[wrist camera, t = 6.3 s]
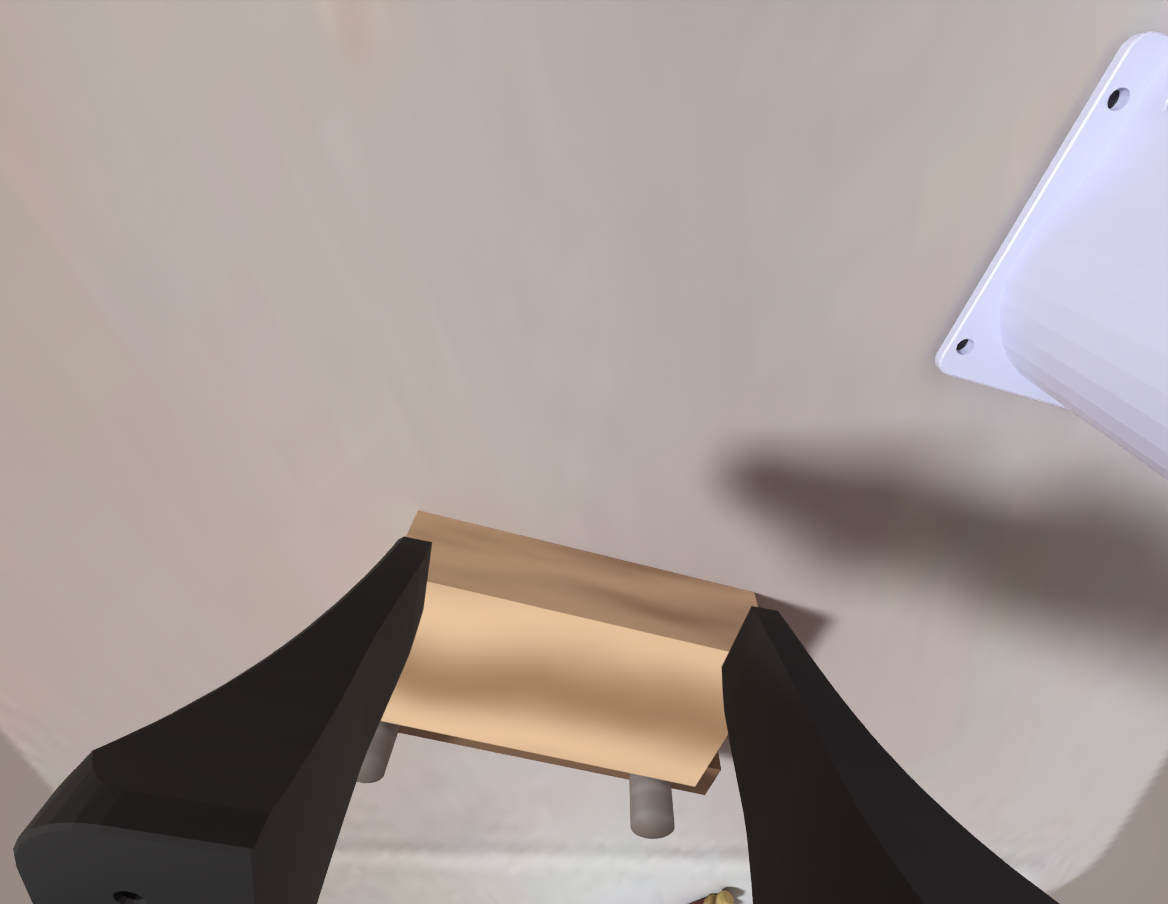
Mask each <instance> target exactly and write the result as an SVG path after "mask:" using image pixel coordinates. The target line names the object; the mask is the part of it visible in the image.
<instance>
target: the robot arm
mask: <svg viewBox="0 0 1168 904" xmlns="http://www.w3.org/2000/svg"><path fill="white" fill-rule="evenodd" d="M1115 90H1119V99H1118V101H1117V103H1116V104H1115V105H1114V106H1113V107H1112V108H1110V109H1109V108H1108V105H1107V102H1108V99H1109V96H1110V95H1111V94H1112V93H1113V92H1114V91H1115ZM964 339H968V343H967V345H966V346H965V347H964V348H962V349H960V350H956V347H957V344H958V343H959V342H960V341H962V340H964ZM935 364H936V366H937V368H938V369H939V370H940V371H942V372H943V373H945V374H947V375H950V376H954V377H957V378H961V379H964V380H968V381H971V382H975V383H978V384H982V385H985V386H988V387H992V388H995V389H999V390H1002V391H1006V392H1009V393H1013V394H1016V395H1020V396H1023V397H1027V398H1030V399H1034V400H1037V401H1041V402H1044V403H1048V404H1051V405H1055V406H1058V407H1062V408H1065V409H1069V410H1070V411H1072V412H1073V413H1075V414H1076V415H1077V416H1079V417H1080V418H1082V419H1083V420H1084V421H1086V422H1087V423H1089V424H1090V425H1091V426H1093V427H1094V428H1096V429H1097V430H1098V431H1100V432H1101V433H1103V434H1104V435H1105V436H1107V437H1108V438H1110V439H1111V440H1112V441H1114V442H1115V443H1117V444H1118V445H1119V446H1121V447H1122V448H1123V449H1125V450H1126V451H1128V452H1129V453H1130V454H1132V455H1133V456H1135V457H1136V458H1137V459H1139V460H1140V461H1142V462H1143V463H1144V464H1146V465H1147V466H1149V467H1150V468H1151V469H1153V470H1154V471H1156V472H1157V473H1158V474H1160V475H1161V476H1163V477H1164V478H1165V479H1167V480H1168V35H1166V34H1163V33H1160V32H1153V31H1149V32H1141V33H1138V34H1136V35H1133V36H1132V37H1130V38H1129V39H1128V40H1126V41H1125V42H1124V44H1123V45H1122V46H1121V47H1120V49H1119V50H1118V52H1117V53H1116V55H1115V57H1114V58H1113V60H1112V62H1111V63H1110V65H1109V67H1108V68H1107V70H1106V72H1105V73H1104V75H1103V77H1102V78H1101V80H1100V82H1099V83H1098V85H1097V87H1096V88H1095V90H1094V92H1093V93H1092V95H1091V97H1090V98H1089V100H1088V102H1087V104H1086V105H1085V107H1084V109H1083V110H1082V112H1081V114H1080V115H1079V117H1078V119H1077V120H1076V122H1075V124H1074V125H1073V127H1072V129H1071V130H1070V132H1069V134H1068V135H1067V137H1066V139H1065V140H1064V142H1063V144H1062V145H1061V147H1060V149H1059V150H1058V152H1057V154H1056V155H1055V157H1054V159H1053V160H1052V162H1051V164H1050V165H1049V167H1048V169H1047V170H1046V172H1045V174H1044V175H1043V177H1042V179H1041V180H1040V182H1039V184H1038V185H1037V187H1036V189H1035V190H1034V192H1033V194H1032V195H1031V197H1030V199H1029V200H1028V202H1027V204H1026V205H1025V207H1024V209H1023V210H1022V212H1021V214H1020V215H1019V217H1018V219H1017V220H1016V222H1015V224H1014V225H1013V227H1012V229H1011V230H1010V232H1009V234H1008V235H1007V237H1006V239H1005V240H1004V242H1003V244H1002V245H1001V247H1000V249H999V250H998V252H997V254H996V255H995V257H994V259H993V260H992V262H991V264H990V265H989V267H988V269H987V270H986V272H985V274H984V275H983V277H982V279H981V280H980V282H979V284H978V285H977V287H976V289H975V290H974V292H973V294H972V295H971V297H970V299H969V300H968V302H967V304H966V306H965V307H964V309H963V311H962V312H961V314H960V316H959V317H958V319H957V321H956V322H955V324H954V326H953V327H952V329H951V331H950V332H949V334H948V336H947V337H946V339H945V341H944V342H943V344H942V346H941V347H940V349H939V351H938V352H937V354H936V357H935ZM431 548H432V542H429V541H424V540H419V539H414V538H409V537H402V538H400V539H399V540H398V541H397V542H396V543H395V544H394V546H393V547H392V548H391V549H390V550H389V551H388V552H387V554H386V555H385V556H384V557H383V558H382V559H381V560H380V561H379V562H378V563H377V564H376V565H375V566H374V567H373V568H372V570H371V571H370V572H369V573H368V574H367V575H366V576H365V577H364V578H363V579H361V580H360V581H359V582H358V583H357V584H356V585H355V586H354V587H353V588H352V589H351V590H350V591H349V592H348V593H347V594H346V595H345V596H344V597H342V598H341V599H340V600H339V601H338V602H337V603H336V604H335V605H333V606H332V607H331V608H330V609H329V610H327V611H326V612H325V613H324V614H323V615H321V616H320V617H319V618H318V619H317V620H316V621H314V622H313V623H312V624H311V625H310V626H308V627H307V628H306V629H305V630H303V631H302V632H301V633H299V634H298V635H297V636H295V637H294V638H293V639H291V640H290V641H289V642H287V643H286V644H285V645H283V646H282V647H280V648H279V649H278V650H276V651H275V652H273V653H272V654H271V655H269V656H268V657H266V658H265V659H263V660H262V661H260V662H259V663H257V664H256V665H254V666H253V667H251V668H249V669H248V670H246V671H245V672H243V673H242V674H240V675H239V676H237V677H236V678H234V679H232V680H231V681H229V682H227V683H226V684H224V685H222V686H221V687H219V688H217V689H216V690H214V691H212V692H210V693H208V694H206V695H205V696H203V697H201V698H199V699H197V700H196V701H194V702H192V703H190V704H188V705H186V706H185V707H183V708H181V709H179V710H177V711H175V712H174V713H172V714H170V715H168V716H166V717H164V718H162V719H160V720H158V721H156V722H154V723H152V724H150V725H148V726H145V727H143V728H141V729H139V730H137V731H135V732H133V733H130V734H128V735H126V736H124V737H122V738H120V739H118V740H115V741H113V742H111V743H109V744H107V745H104V746H102V747H100V748H97V749H95V750H93V751H92V752H91V753H90V754H89V755H88V756H87V757H86V758H85V759H84V760H83V761H82V762H81V764H80V765H79V766H78V767H77V768H76V769H75V770H74V771H73V772H72V773H71V774H70V775H69V776H68V777H67V778H66V779H65V780H64V781H63V782H62V784H61V785H60V786H59V787H58V788H57V789H56V790H55V792H54V793H53V794H52V795H51V797H50V798H49V799H48V801H47V802H46V803H45V804H44V806H43V807H42V808H41V810H40V811H39V812H38V814H37V815H36V816H35V817H34V818H33V820H32V821H31V822H30V824H29V825H28V826H27V827H26V829H25V830H24V831H23V832H22V834H21V835H20V836H19V837H18V839H17V842H16V844H15V846H14V848H13V850H14V856H15V860H16V866H17V869H18V871H19V874H20V876H21V878H22V880H23V882H24V885H25V887H26V889H27V891H28V893H29V896H30V898H31V900H32V902H33V904H317V902H318V899H319V895H320V892H321V889H322V886H323V883H324V879H325V876H326V873H327V870H328V867H329V864H330V861H331V857H332V854H333V851H334V848H335V845H336V842H337V839H338V836H339V833H340V830H341V827H342V823H343V820H344V817H345V814H346V811H347V808H348V805H349V802H350V799H351V796H352V793H353V790H354V787H355V784H356V781H357V778H358V775H359V772H360V769H361V767H362V764H363V761H364V759H365V756H366V754H367V751H368V749H369V746H370V744H371V742H372V739H373V737H374V735H375V732H376V730H377V728H378V726H379V723H380V721H381V719H382V716H383V714H384V712H385V710H386V707H387V705H388V703H389V701H390V698H391V696H392V694H393V691H394V689H395V687H396V685H397V682H398V680H399V678H400V675H401V673H402V671H403V668H404V666H405V664H406V661H407V659H408V657H409V654H410V652H411V649H412V645H413V642H414V639H415V636H416V633H417V629H418V626H419V623H420V620H421V616H422V613H423V609H424V602H425V594H426V586H427V579H428V571H429V563H430V556H431ZM721 669H722V690H723V704H724V714H725V719H726V725H727V730H728V735H729V741H730V746H731V751H732V756H733V761H734V766H735V772H736V777H737V782H738V787H739V792H740V797H741V802H742V807H743V812H744V819H745V825H746V832H747V841H748V851H749V862H750V872H751V883H752V896H753V904H1059V903H1058V902H1056V901H1055V900H1054V899H1052V898H1051V897H1050V896H1049V895H1047V894H1046V893H1045V892H1043V891H1042V890H1041V889H1039V888H1038V887H1037V886H1035V885H1034V884H1033V883H1031V882H1030V881H1029V880H1027V879H1026V878H1025V877H1023V876H1022V875H1021V874H1019V873H1018V872H1017V871H1015V870H1014V869H1013V868H1012V867H1010V866H1009V865H1008V864H1007V863H1005V862H1004V861H1003V860H1002V859H1001V858H999V857H998V856H997V855H996V854H995V853H993V852H992V851H991V850H990V849H989V848H987V847H986V846H985V845H984V844H983V843H981V842H980V841H979V840H978V839H977V838H975V837H974V836H973V835H972V834H971V833H970V832H968V831H967V830H966V829H965V828H964V827H963V826H962V825H961V824H959V823H958V822H957V821H956V820H955V819H954V818H953V817H952V816H951V815H949V814H948V813H947V812H946V811H945V810H944V809H943V808H942V807H941V806H940V805H939V804H938V803H937V802H936V801H935V800H934V799H932V798H931V797H930V796H929V795H928V794H927V793H926V792H925V791H924V790H923V789H922V788H921V787H920V786H919V785H918V784H917V783H916V782H915V781H914V780H913V779H912V778H911V777H910V776H909V775H908V774H907V773H906V772H905V771H904V770H903V769H902V768H901V767H900V765H899V764H898V763H897V762H896V761H895V760H894V759H893V758H892V757H891V756H890V755H889V754H888V753H887V752H886V751H885V749H884V748H883V747H882V746H881V745H880V744H879V743H878V742H877V740H876V739H875V738H874V737H873V736H872V735H871V734H870V732H869V731H868V730H867V729H866V728H865V726H864V725H863V724H862V723H861V722H860V720H859V719H858V718H857V717H856V716H855V714H854V713H853V712H852V711H851V709H850V708H849V707H848V706H847V704H846V703H845V702H844V701H843V699H842V698H841V697H840V695H839V694H838V693H837V692H836V690H835V689H834V688H833V686H832V685H831V684H830V682H829V681H828V680H827V678H826V677H825V676H824V674H823V673H822V672H821V670H820V669H819V667H818V666H817V665H816V663H815V662H814V661H813V659H812V658H811V656H810V655H809V654H808V652H807V651H806V649H805V648H804V647H803V645H802V644H801V642H800V641H799V640H798V638H797V637H796V635H795V634H794V633H793V631H792V630H791V628H790V627H789V626H788V624H787V623H786V621H785V620H784V619H783V617H782V616H781V615H780V613H779V612H778V611H775V610H770V609H765V608H760V607H755V606H751V608H750V610H749V612H748V614H747V616H746V618H745V620H744V622H743V624H742V626H741V628H740V630H739V632H738V634H737V637H736V639H735V641H734V643H733V645H732V647H731V649H730V651H729V653H728V655H727V657H726V659H725V661H724V663H723V665H722V667H721Z"/></svg>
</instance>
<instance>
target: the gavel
mask: <svg viewBox="0 0 1168 904" xmlns="http://www.w3.org/2000/svg"><path fill="white" fill-rule="evenodd" d="M689 904H734V898H733V896H732V894H731V893H730V892H729V891H725V890H723V891H721V892H719V893H718V895H715V894H711V895H709V896H708V897H706V898H702V899H700V900H697V901H694V902H691V903H689Z"/></svg>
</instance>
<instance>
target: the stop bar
mask: <svg viewBox="0 0 1168 904" xmlns="http://www.w3.org/2000/svg"><path fill="white" fill-rule="evenodd" d="M398 733H403V734H408V735H413V736H418V737H423V738H428V739H432V740H437V741H442V742H447V743H452V744H457V745H462V746H467V747H472V748H477V749H482V750H486V751H491V752H496V753H501V754H506V755H511V756H516V757H521V758H526V759H531V760H536V761H540V762H545V763H550V764H555V765H560V766H565V767H570V768H575V769H580V770H585V771H589V772H594V773H599V774H604V775H609V776H614V777H619V778H624V779H629V780H630V822H631V830H632V831H633V832H634V833H635V834H636V835H638V836H640V837H643V838H649V839H657V838H662V837H665V836H667V835H669V834H671V833H672V832H673V830H674V815H673V803H672V791H671V788H673V789H678V790H683V791H688V792H693V793H697V794H702V795H705V794H706V792H707V791H708V789H709V788H710V786H711V785H712V783H713V782H714V780H715V779H716V777H717V775H718V774H719V772H720V771H721V766H720V760H719V753H718V751H717V753H716V754H715V756H714V757H713V759H712V761H711V762H710V764H709V765H708V767H707V769H706V770H705V772H704V773H703V775H702V776H701V778H700V780H699V781H698V783H697V784H696V786H695V787H694V786H689V785H685V784H680V783H675V782H670V781H665V780H661V779H656V778H651V777H646V776H642V775H637V774H632V773H627V772H622V771H618V770H613V769H608V768H603V767H599V766H594V765H589V764H584V763H579V762H575V761H570V760H565V759H560V758H556V757H551V756H546V755H541V754H536V753H532V752H527V751H522V750H517V749H513V748H508V747H503V746H498V745H493V744H489V743H484V742H479V741H474V740H470V739H465V738H460V737H455V736H450V735H446V734H441V733H436V732H431V731H427V730H422V729H417V728H412V727H408V726H403V725H398V724H393V723H388V722H384V721H380V723H379V726H378V728H377V730H376V732H375V735H374V737H373V739H372V742H371V744H370V746H369V749H368V751H367V754H366V756H365V759H364V761H363V764H362V767H361V769H360V772H359V775H358V778H357V781H356V782H361V783H373V782H376V781H379V780H380V779H382V777H383V776H384V773H385V770H386V767H387V764H388V761H389V758H390V755H391V752H392V749H393V746H394V743H395V740H396V737H397V734H398Z"/></svg>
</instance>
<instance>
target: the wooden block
mask: <svg viewBox="0 0 1168 904" xmlns="http://www.w3.org/2000/svg"><path fill="white" fill-rule="evenodd" d="M406 537H409V538H414V539H419V540H424V541H429V542H432V548H431V556H430V563H429V571H428V579H427V586H426V594H425V602H424V609H423V613H422V616H421V620H420V623H419V626H418V629H417V633H416V636H415V639H414V642H413V645H412V649H411V652H410V654H409V657H408V659H407V661H406V664H405V666H404V668H403V671H402V673H401V675H400V678H399V680H398V682H397V685H396V687H395V689H394V691H393V694H392V696H391V698H390V701H389V703H388V705H387V707H386V710H385V712H384V714H383V716H382V719H381V721H384V722H388V723H393V724H398V725H403V726H408V727H412V728H417V729H422V730H427V731H431V732H436V733H441V734H446V735H450V736H455V737H460V738H465V739H470V740H474V741H479V742H484V743H489V744H493V745H498V746H503V747H508V748H513V749H517V750H522V751H527V752H532V753H536V754H541V755H546V756H551V757H556V758H560V759H565V760H570V761H575V762H579V763H584V764H589V765H594V766H599V767H603V768H608V769H613V770H618V771H622V772H627V773H632V774H637V775H642V776H646V777H651V778H656V779H661V780H665V781H670V782H675V783H680V784H685V785H689V786H694V787H695V786H696V784H697V783H698V781H699V780H700V778H701V776H702V775H703V773H704V772H705V770H706V769H707V767H708V765H709V764H710V762H711V761H712V759H713V757H714V756H715V754H716V753H717V751H718V750H719V748H720V746H721V745H722V743H723V742H724V740H725V738H726V737H727V735H728V730H727V725H726V719H725V714H724V704H723V690H722V669H721V667H722V665H723V663H724V661H725V659H726V657H727V655H728V653H729V651H730V649H731V647H732V645H733V643H734V641H735V639H736V637H737V634H738V632H739V630H740V628H741V626H742V624H743V622H744V620H745V618H746V616H747V614H748V612H749V610H750V608H751V606H755V607H758V604H757V601H756V597H755V593H754V592H751V591H746V590H742V589H738V588H734V587H730V586H726V585H722V584H718V583H714V582H710V581H705V580H701V579H697V578H693V577H689V576H685V575H681V574H677V573H673V572H669V571H664V570H660V569H656V568H652V567H648V566H644V565H640V564H636V563H632V562H628V561H623V560H619V559H615V558H611V557H607V556H603V555H599V554H595V553H591V552H587V551H582V550H578V549H574V548H570V547H566V546H562V545H558V544H554V543H550V542H546V541H541V540H537V539H533V538H529V537H525V536H521V535H517V534H513V533H509V532H505V531H501V530H496V529H492V528H488V527H484V526H480V525H476V524H472V523H468V522H464V521H460V520H455V519H451V518H447V517H443V516H439V515H435V514H431V513H427V512H423V511H419V510H418V512H417V514H416V516H415V518H414V521H413V523H412V525H411V527H410V529H409V532H408V534H407V536H406Z"/></svg>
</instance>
